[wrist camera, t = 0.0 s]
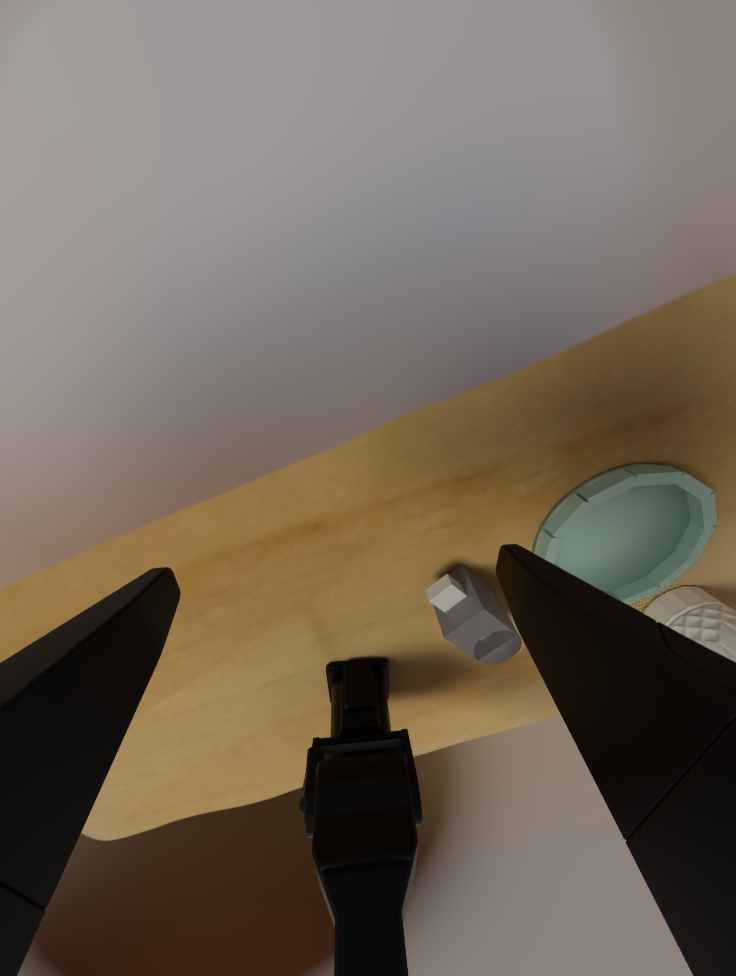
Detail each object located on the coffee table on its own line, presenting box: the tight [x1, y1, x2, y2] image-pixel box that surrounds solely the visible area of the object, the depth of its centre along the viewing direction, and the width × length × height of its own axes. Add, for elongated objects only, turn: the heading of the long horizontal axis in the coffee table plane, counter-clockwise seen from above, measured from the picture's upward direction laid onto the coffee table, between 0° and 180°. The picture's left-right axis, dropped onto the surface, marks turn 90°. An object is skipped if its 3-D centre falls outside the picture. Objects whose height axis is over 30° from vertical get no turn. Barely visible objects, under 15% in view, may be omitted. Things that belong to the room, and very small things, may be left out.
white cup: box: [643, 586, 736, 662], centre depth 29 cm, size 8×8×10 cm
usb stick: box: [425, 565, 522, 663], centre depth 28 cm, size 8×4×5 cm, turn 47°
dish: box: [533, 463, 717, 605], centre depth 27 cm, size 14×14×2 cm
